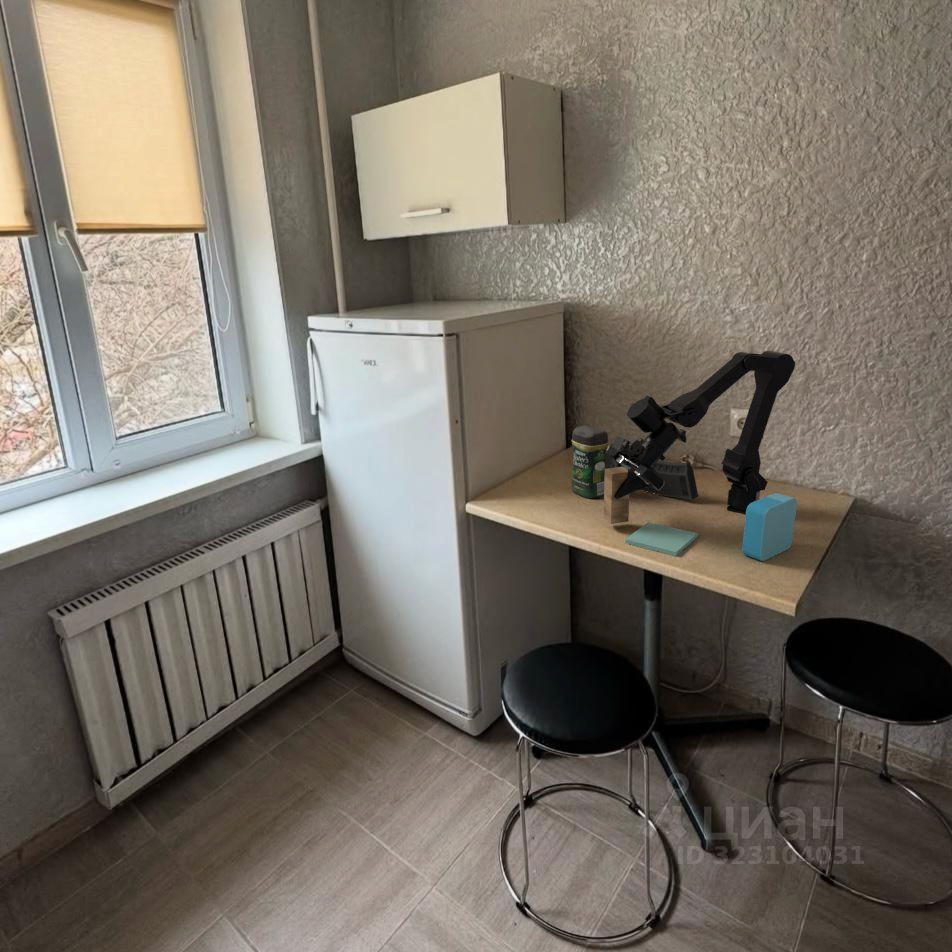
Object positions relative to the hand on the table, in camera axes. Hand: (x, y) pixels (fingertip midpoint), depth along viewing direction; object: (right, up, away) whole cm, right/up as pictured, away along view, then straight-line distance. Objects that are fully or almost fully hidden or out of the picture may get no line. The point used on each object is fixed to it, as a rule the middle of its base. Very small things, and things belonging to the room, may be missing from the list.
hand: (611, 494), depth 155 cm
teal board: (+10, -10, -5) cm, 15 cm away
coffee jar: (-1, 0, +26) cm, 26 cm away
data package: (+31, -12, -12) cm, 36 cm away
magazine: (+15, 0, +27) cm, 31 cm away
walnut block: (+2, -6, +2) cm, 7 cm away
